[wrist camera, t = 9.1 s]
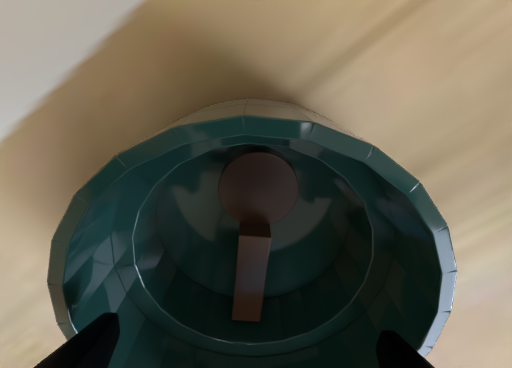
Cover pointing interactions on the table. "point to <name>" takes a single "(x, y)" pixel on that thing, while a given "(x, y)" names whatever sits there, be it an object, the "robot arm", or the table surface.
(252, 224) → the spoon
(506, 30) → the table surface
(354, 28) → the table surface
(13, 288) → the table surface
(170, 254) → the bucket
